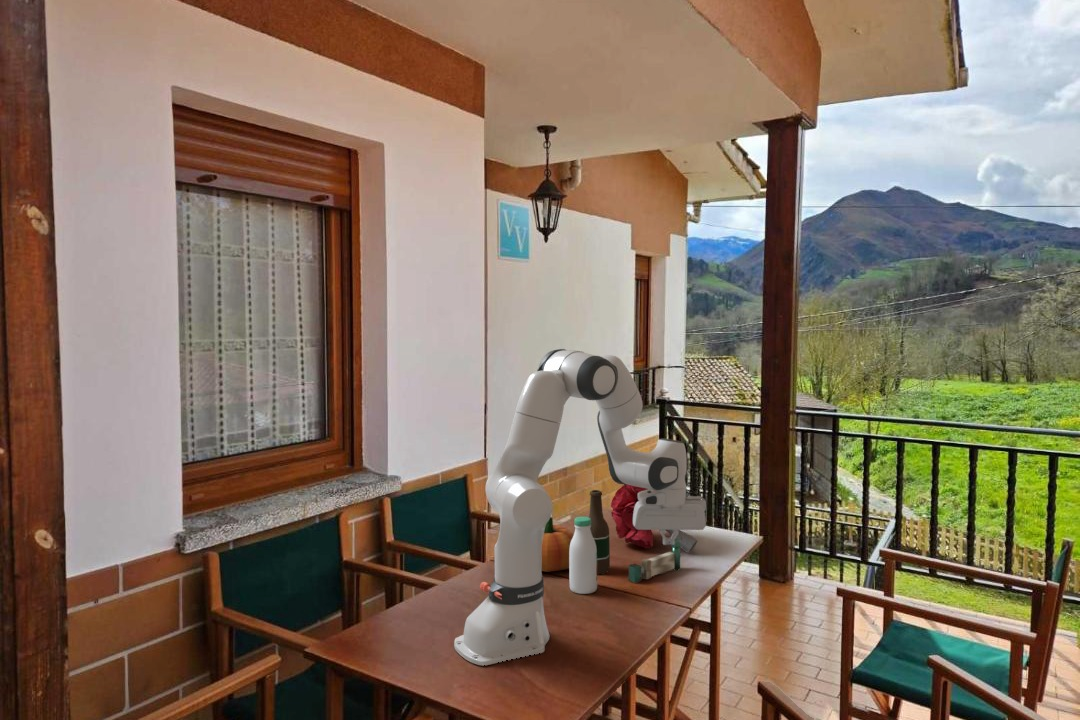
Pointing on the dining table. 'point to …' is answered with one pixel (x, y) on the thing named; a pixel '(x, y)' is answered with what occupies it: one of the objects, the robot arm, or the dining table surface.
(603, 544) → the beer bottle
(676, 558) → the hinge post
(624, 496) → the bouquet
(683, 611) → the dining table surface
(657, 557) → the grey rectangular bar
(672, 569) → the grey metal rod
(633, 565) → the dark green brushed box
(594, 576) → the milk bottle
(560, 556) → the pumpkin
